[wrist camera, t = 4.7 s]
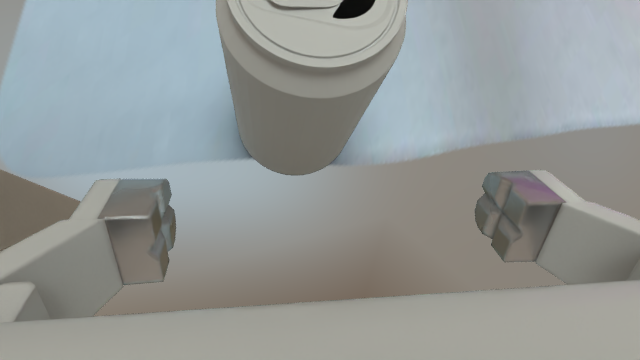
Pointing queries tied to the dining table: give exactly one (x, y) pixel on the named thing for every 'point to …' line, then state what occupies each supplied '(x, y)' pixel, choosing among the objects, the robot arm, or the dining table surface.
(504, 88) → the dining table surface
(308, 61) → the beverage can
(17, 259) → the robot arm
